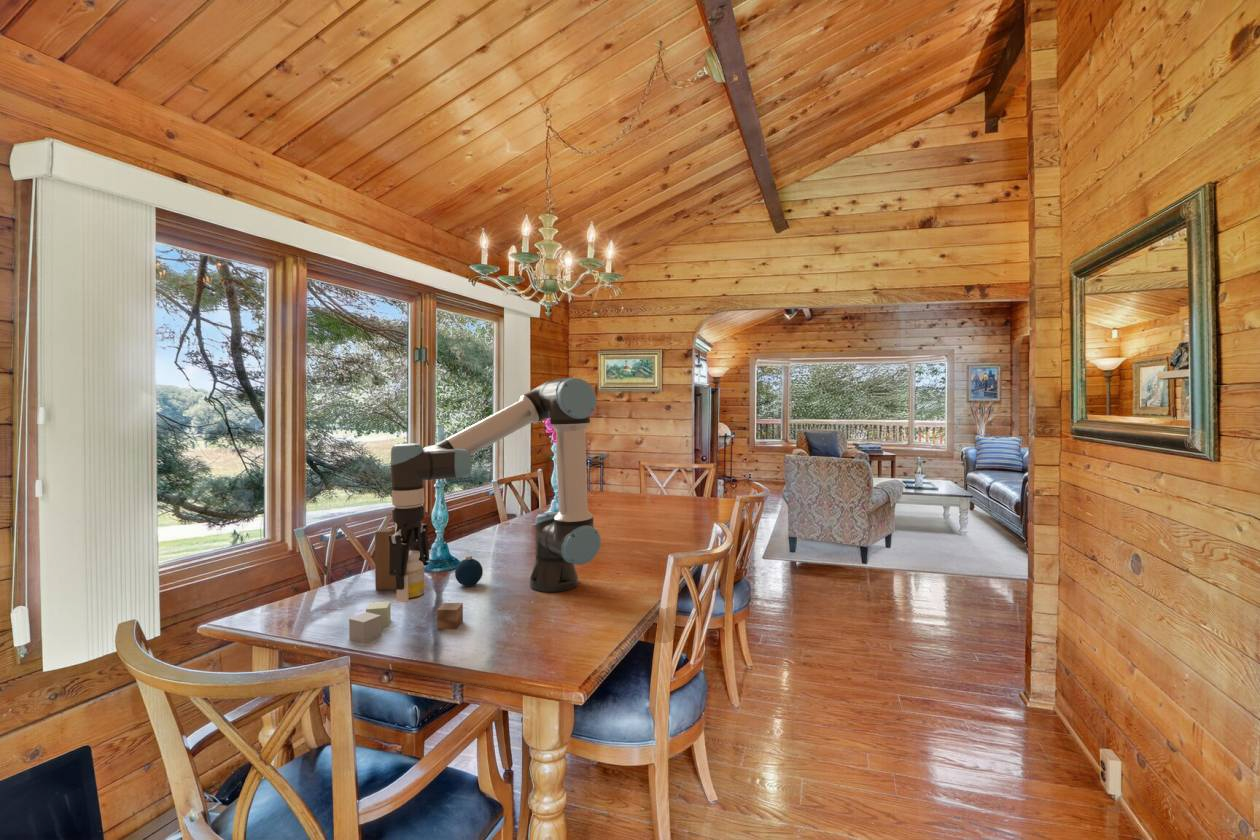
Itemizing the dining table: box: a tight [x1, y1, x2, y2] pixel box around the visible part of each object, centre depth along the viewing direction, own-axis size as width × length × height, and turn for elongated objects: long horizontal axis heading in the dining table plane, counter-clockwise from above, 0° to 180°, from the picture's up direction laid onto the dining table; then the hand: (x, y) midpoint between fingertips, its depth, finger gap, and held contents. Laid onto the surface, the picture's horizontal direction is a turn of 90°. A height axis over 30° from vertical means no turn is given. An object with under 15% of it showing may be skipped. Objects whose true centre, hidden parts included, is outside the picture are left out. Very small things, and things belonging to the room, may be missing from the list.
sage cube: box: [365, 600, 392, 628], centre depth 147 cm, size 5×5×5 cm
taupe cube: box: [348, 611, 382, 643], centre depth 139 cm, size 5×5×5 cm
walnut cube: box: [436, 602, 464, 630], centre depth 146 cm, size 5×5×5 cm
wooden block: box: [374, 528, 397, 591], centre depth 176 cm, size 9×4×18 cm, turn 92°
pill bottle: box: [405, 549, 425, 603], centre depth 143 cm, size 6×6×12 cm
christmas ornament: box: [454, 554, 484, 587], centre depth 179 cm, size 8×8×10 cm
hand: (411, 596), depth 143 cm, fingers closed on pill bottle, 6 cm apart
